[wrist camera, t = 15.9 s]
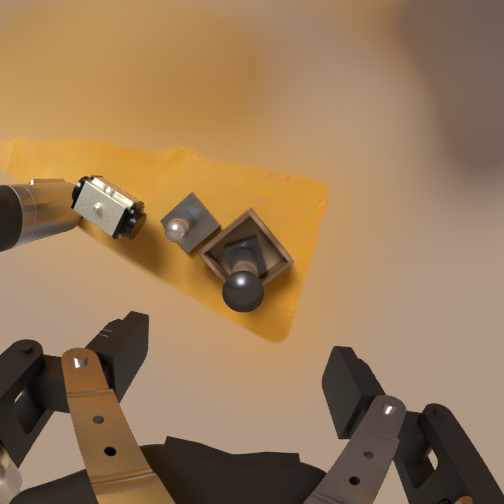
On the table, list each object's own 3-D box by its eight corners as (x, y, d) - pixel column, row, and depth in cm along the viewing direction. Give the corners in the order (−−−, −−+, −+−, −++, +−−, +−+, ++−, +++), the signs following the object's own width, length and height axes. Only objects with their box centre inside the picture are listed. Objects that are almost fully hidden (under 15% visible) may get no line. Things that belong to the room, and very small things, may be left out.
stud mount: (162, 220, 47) (139, 229, 37) (193, 192, 46) (177, 193, 36) (189, 251, 48) (173, 269, 38) (220, 225, 47) (212, 235, 37)
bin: (203, 246, 48) (197, 253, 43) (250, 207, 47) (250, 209, 42) (242, 292, 50) (241, 303, 45) (289, 255, 49) (294, 262, 44)
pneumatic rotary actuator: (148, 232, 48) (119, 246, 36) (97, 199, 46) (59, 203, 34) (163, 204, 47) (137, 210, 35) (111, 171, 45) (74, 169, 33)
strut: (225, 244, 47) (210, 277, 29) (255, 233, 47) (259, 262, 29) (235, 273, 48) (227, 322, 30) (265, 263, 48) (274, 308, 30)
